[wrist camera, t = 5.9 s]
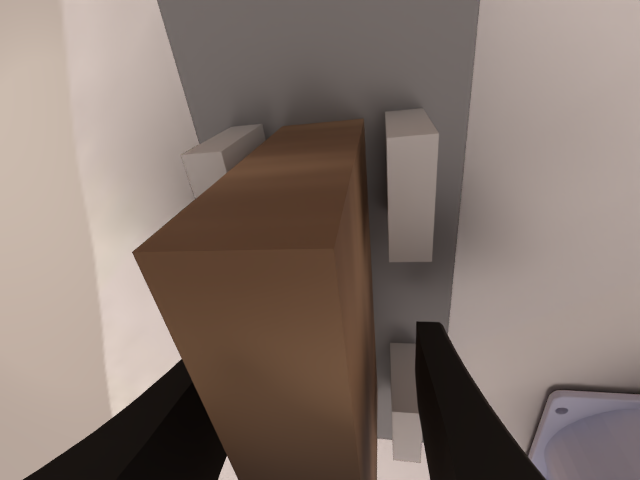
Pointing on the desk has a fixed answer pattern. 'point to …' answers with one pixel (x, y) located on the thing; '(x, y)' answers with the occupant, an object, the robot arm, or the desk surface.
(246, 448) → the door panel
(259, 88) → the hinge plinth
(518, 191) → the desk surface
